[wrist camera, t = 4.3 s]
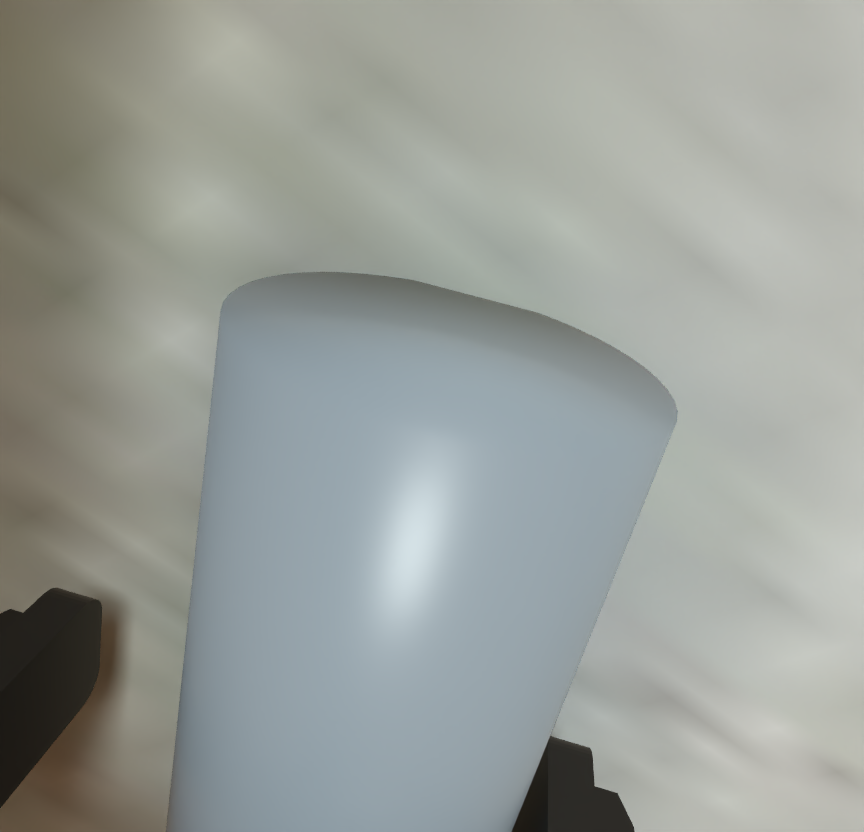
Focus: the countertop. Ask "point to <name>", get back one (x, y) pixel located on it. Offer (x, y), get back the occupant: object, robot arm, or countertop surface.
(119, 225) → the countertop surface
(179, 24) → the countertop surface
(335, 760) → the cylinder
